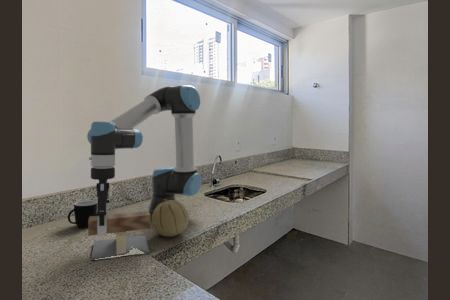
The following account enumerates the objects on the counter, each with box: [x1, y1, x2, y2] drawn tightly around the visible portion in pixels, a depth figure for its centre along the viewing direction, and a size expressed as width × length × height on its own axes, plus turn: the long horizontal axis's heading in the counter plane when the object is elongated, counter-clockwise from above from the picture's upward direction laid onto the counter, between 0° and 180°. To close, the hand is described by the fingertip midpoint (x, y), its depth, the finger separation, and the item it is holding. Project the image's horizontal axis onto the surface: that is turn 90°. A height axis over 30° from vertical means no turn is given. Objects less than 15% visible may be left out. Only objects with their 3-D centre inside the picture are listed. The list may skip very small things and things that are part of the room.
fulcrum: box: [90, 231, 150, 261], centre depth 95 cm, size 18×14×7 cm
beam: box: [87, 210, 151, 237], centre depth 94 cm, size 20×5×5 cm, turn 113°
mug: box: [67, 199, 98, 228], centre depth 114 cm, size 12×9×10 cm
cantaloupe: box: [151, 199, 190, 238], centre depth 108 cm, size 15×15×15 cm
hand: (102, 227), depth 92 cm, fingers open, 13 cm apart
